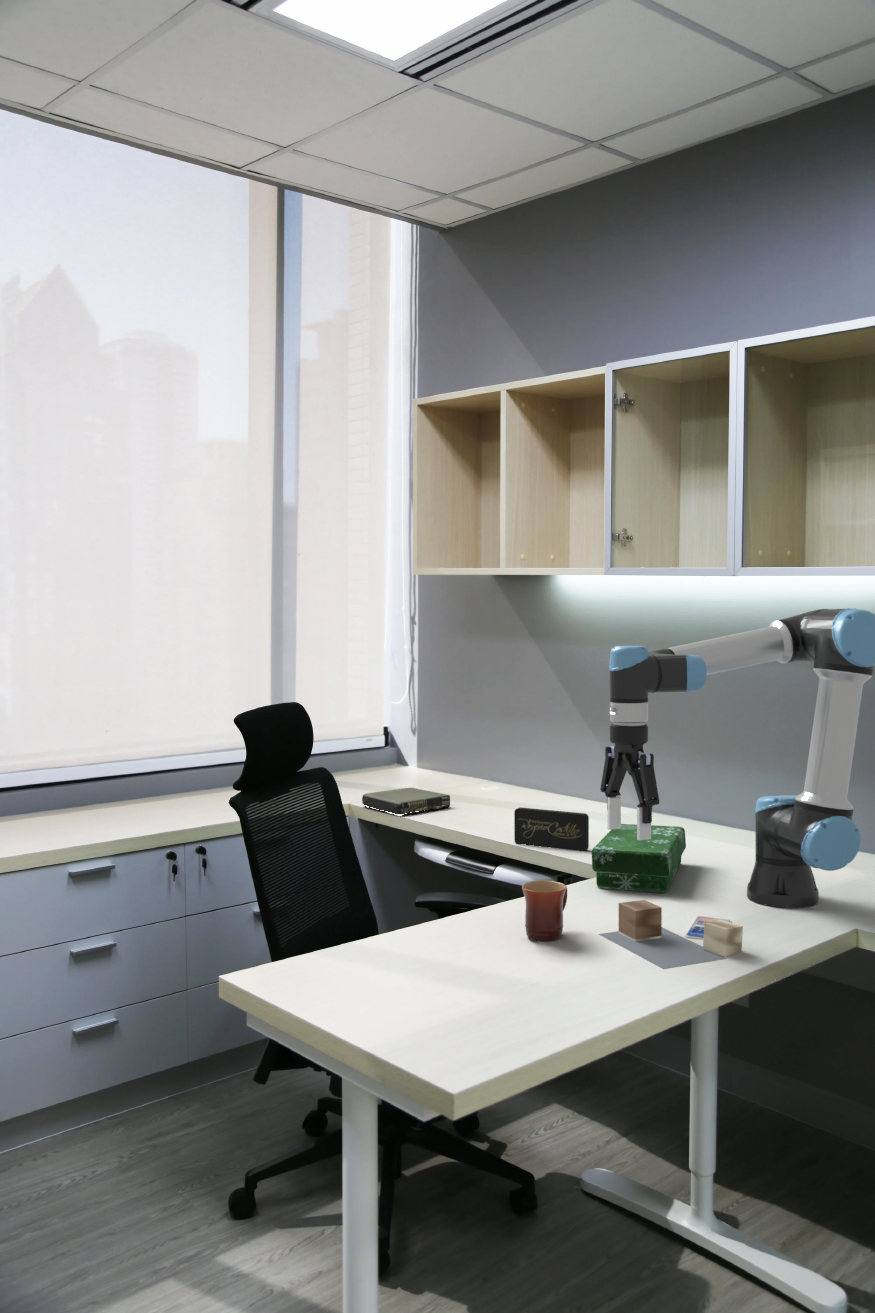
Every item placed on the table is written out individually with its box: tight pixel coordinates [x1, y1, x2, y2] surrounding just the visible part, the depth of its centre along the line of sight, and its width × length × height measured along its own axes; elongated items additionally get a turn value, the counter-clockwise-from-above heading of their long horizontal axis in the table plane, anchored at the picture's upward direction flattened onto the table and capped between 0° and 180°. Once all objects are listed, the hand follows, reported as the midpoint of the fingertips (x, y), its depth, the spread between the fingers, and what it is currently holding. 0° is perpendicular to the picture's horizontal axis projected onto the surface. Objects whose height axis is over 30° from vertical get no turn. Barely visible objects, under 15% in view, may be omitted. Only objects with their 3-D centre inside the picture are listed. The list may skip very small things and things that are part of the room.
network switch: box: [361, 787, 451, 814], centre depth 343 cm, size 23×23×5 cm
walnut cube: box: [618, 899, 663, 942], centre depth 207 cm, size 6×6×6 cm
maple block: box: [702, 920, 744, 957], centre depth 197 cm, size 5×5×5 cm
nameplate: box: [513, 807, 590, 852], centre depth 285 cm, size 21×2×10 cm, turn 61°
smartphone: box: [684, 915, 733, 941], centre depth 211 cm, size 7×1×15 cm
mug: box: [521, 880, 568, 942], centre depth 208 cm, size 12×9×10 cm
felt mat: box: [598, 927, 728, 970], centre depth 200 cm, size 14×22×1 cm, turn 23°
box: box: [591, 823, 687, 894], centre depth 254 cm, size 32×18×10 cm, turn 160°
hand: (628, 834), depth 210 cm, fingers open, 10 cm apart
